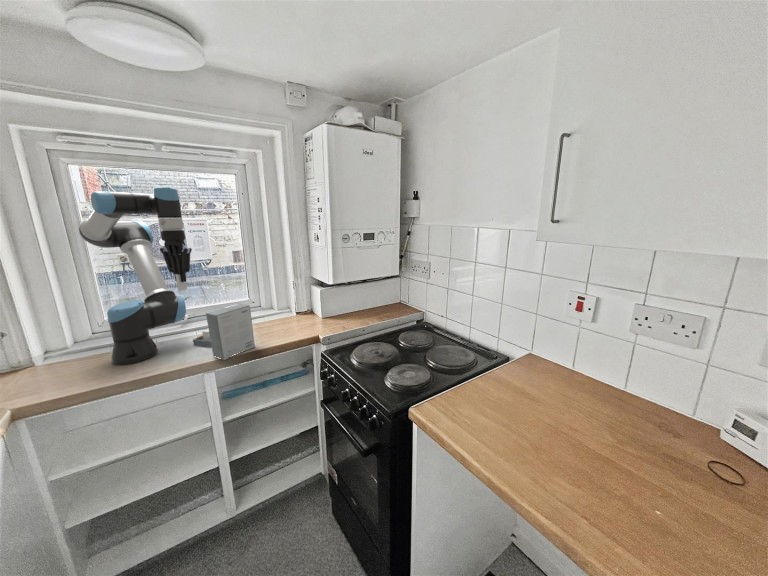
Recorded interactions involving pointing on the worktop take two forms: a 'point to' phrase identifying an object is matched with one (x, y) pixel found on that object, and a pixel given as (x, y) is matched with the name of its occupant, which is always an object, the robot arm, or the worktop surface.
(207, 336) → the tab
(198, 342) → the dark grey tray
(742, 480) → the worktop surface
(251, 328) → the hard drive box
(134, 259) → the robot arm
